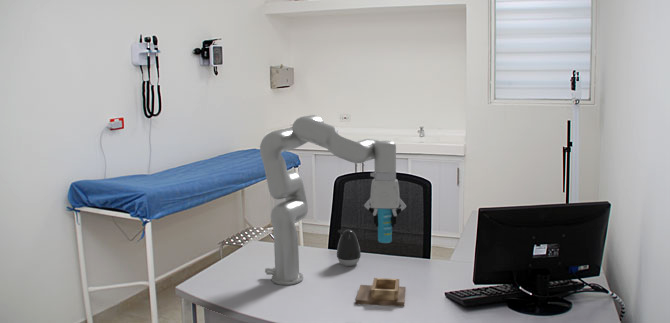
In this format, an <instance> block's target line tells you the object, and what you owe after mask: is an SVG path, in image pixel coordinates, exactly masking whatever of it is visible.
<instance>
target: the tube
mask: <svg viewBox="0 0 670 323" xmlns="http://www.w3.org/2000/svg"><path fill="white" fill-rule="evenodd" d="M377 213H378V226H377V241H378V243H381V244H389V243H391V242H393V240H392V239H393V238H392V237H393V235H392V234H393V227H392V215H393V212H392V209H378V211H377Z"/></svg>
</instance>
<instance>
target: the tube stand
mask: <svg viewBox="0 0 670 323" xmlns="http://www.w3.org/2000/svg"><path fill="white" fill-rule="evenodd" d="M406 289H407V288H406V286H400V278H384V277H383V278H382V277H381V278H379V277H374V278H373V282H372V284H368V285H367V284H360V285H359V290H358V292H357V295H356V299H355V302H356V303H355V304H356V305H366V306H367V305H369V306H372V305H373V306H386V307H387V306H389V307H390V306H391V307H394V306H395V307H405V303H406V302H405V301H406Z"/></svg>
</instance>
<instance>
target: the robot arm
mask: <svg viewBox="0 0 670 323" xmlns="http://www.w3.org/2000/svg"><path fill="white" fill-rule="evenodd" d="M338 131H339V130H338V128H337V127H336V126H334V125H330V124H327V123H325V122H324V120H323V119H322V118H321V117H320V116H319V115H315V114H311V115H304V116H300V117H298V118H296V119H295V120H294V122H293V123H292V126H290V127H287V128H281V129H276V130H274V131H271V132H269V133H267V134H266V135H265V136H264V137H263V138H262V140H261V142H260V145H259V154H260V157H261V161H262V164H263V168H264V173H265V178H266V184H267V187H268V188H267V189H268V192H269V194H270V196H271V197H272V198H273V199H274V200H283V199H285V200H284V201H281V202H279V203H277V204H276V205H274V207H273V208H272V209H271V212H270V221H271V225H272V229H273V230H272V231H273V243H274V244H273V246H274V247H273V248H274V249H273V250H274V267H272V268H271V267H265V269H264V273H265V274H266V275H268V276H269V275H272V276H271V282H272V283H274V284H277V285H281V286H283V285H284V286H291V285H295V284H299V283H301V282H302V281H303V280H304V275H303V273H301V272H300V261H299V260H300V258H299V257H300V255H299V254H300V253H299V234H298V230H297V228H296V225H295V224H296V223H297V222H299V221H301V220H303V219H305V218H306V216H307V215H308V210H309V207H308V206H309V204H308V200H307V195H306V191H305V186H304V183H303V179H302V177H301V176H300V175H299V174H298V173H297V172H296V171H292V170H291V171H289V170H288V168H287V164H286V163H287V162H286V160H285V158H284V156H282V153H283V152H286V151H290V150H295V149H297V148H300V147H301V146H303V145H305V144H307V143H311V144H313V145H316V146H319V147H321V148H324V149H326V150H327V151H329V152H330V153H331V154H332V155H334V156H335V157H338V159H339V158H340V159H342V160H345V161H347V162H350V163H352V164H362V163H365V162H367V161H372V160H374V162H373V163H374V171H373V172H370V177H371V178H373V179H372V180H371V185H370V186H371V187H370V197H369V199H368V200H367V201H366V202H365V203H364V205H363V207H364V208H365V209H367V210H368V211H369V213H371V214H372V215H373V224H374V225H375V227H377V228H378V209H392V212H393V215H392V228H395V225H397V216H398V215H399V214H400V213H401V212H402V211H404V210H405V209H406V208H407V205H406V204H405V202H404V201H403V200H402V198H401V197H400V196H401V195H400V184H399V181H398V179H397V144H396V143H395V141H391V140H378V139H372V138H371V139H370V138H365V139H362V140H361V139H360V140H358V141H354V140H352V139H349V138H346V137H344V136H341V135H340V134H339V132H338Z"/></svg>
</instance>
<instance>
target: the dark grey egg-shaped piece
mask: <svg viewBox="0 0 670 323" xmlns="http://www.w3.org/2000/svg"><path fill="white" fill-rule="evenodd" d="M337 233H339V234H340V238H339V240H338V244H337V248H336V258H337V261H338V262H339V263H340V264H341V265H342V266H345V267H352V266H356V265H357V263H358V262H359V261H360V259H361V256H362V253H361V247H360V244H359V241H358V237H357V235H356V233H355V231H353V230H351V229H345V230H344V231H342V230H341V229H337Z"/></svg>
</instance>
